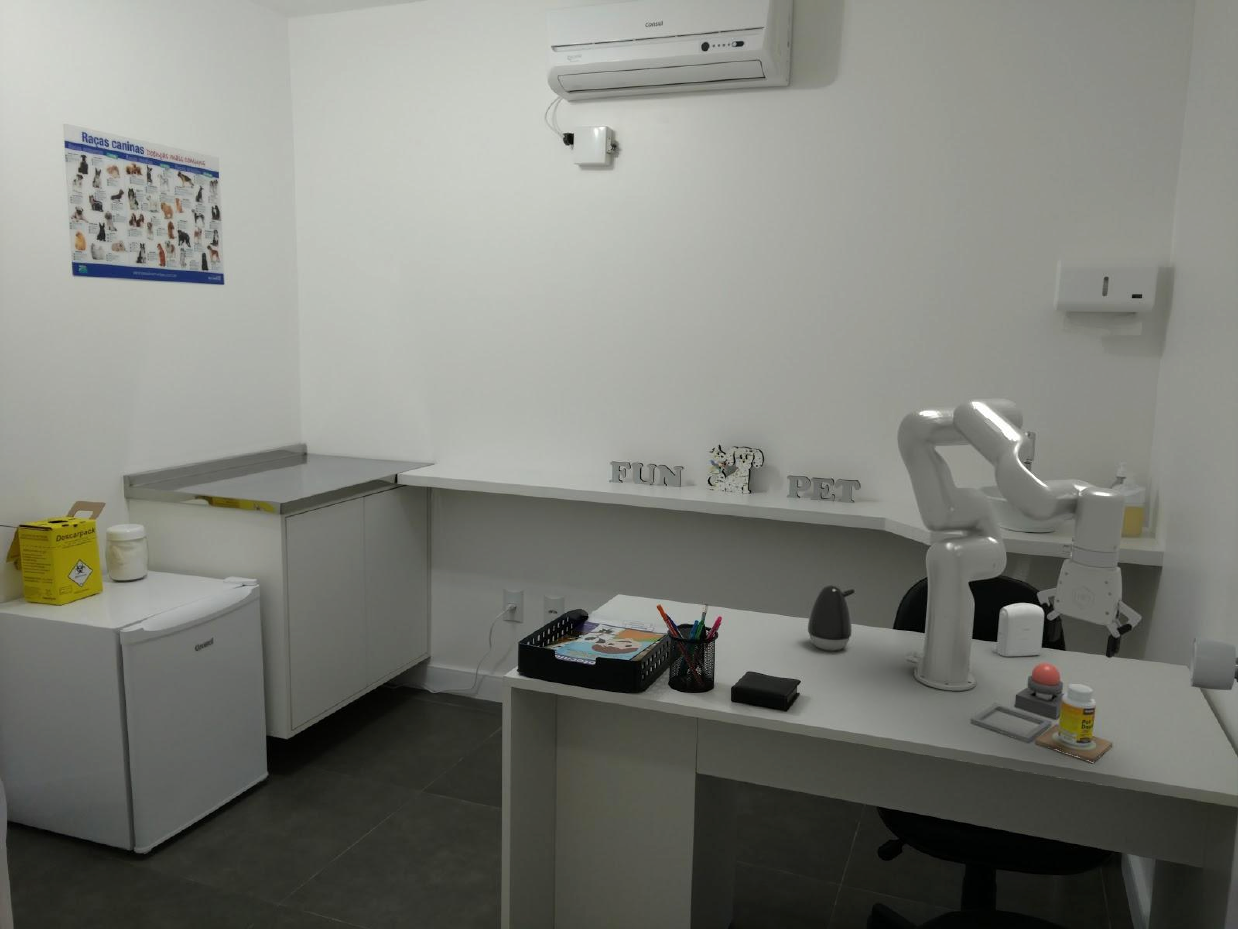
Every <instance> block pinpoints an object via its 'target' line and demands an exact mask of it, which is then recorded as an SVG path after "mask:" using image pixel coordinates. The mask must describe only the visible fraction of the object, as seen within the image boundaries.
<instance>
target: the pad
mask: <svg viewBox="0 0 1238 929" xmlns="http://www.w3.org/2000/svg"><path fill="white" fill-rule="evenodd" d="M1058 730H1059V723H1058V724H1057V723H1056V724H1054V725H1053V726H1050V727H1049V728H1048V730H1047V729H1046V730H1045V731H1044V732H1043V733H1041V735H1040V736H1037V737H1036V739H1035V740H1034V741H1035V742H1034V744H1035V743H1037V744H1039V745H1038V746H1040V745H1041V747H1043V746H1046V747H1049V748H1051V749H1050V750H1052V749H1057V750H1059V751H1061V752H1064V753H1068V754H1071V755H1073V756H1078V757H1080V758H1082V759H1084V760H1089V761H1091V762H1094V761H1095V760H1096V761H1098V760H1099V759H1100V758H1099V756H1101V755H1102V754H1103V753H1104V754H1105V753H1107V752H1108V751H1109V750H1110V749H1111V748H1112V747H1113V744H1114V742H1113V741H1111V740H1107V739H1103V738H1101V737H1098V736H1094V735H1092V741H1091V743H1090V744H1089V745H1087V746H1076V745H1071V744H1068V743H1066V742H1064V741H1062V740H1061V739H1060V738H1059V736H1058ZM1037 744H1036V745H1037ZM1111 746H1112V747H1111ZM1046 747H1045V748H1046ZM1110 747H1111V748H1110ZM1049 748H1048V749H1049ZM1108 749H1109V750H1108ZM1107 750H1108V751H1107ZM1061 752H1060V753H1061ZM1064 753H1063V754H1064ZM1104 754H1103V755H1104ZM1103 755H1102V756H1103ZM1102 756H1101V757H1102ZM1098 758H1099V759H1098ZM1097 759H1098V760H1097ZM1084 760H1083V761H1084ZM1096 761H1095V762H1096ZM1095 762H1094V763H1095Z"/></svg>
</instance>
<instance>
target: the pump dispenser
mask: <svg viewBox="0 0 1238 929" xmlns="http://www.w3.org/2000/svg"><path fill="white" fill-rule="evenodd" d="M853 594H855V590H854V588H851V589H847V590H845V591H843V590H842V589H841V588H840V586H839V587H838V585H834V584H828V585H826V586H823V588H821V590H820V591H819V592H818V594H817V596H816V598H815V600H814V602H813V605H812V607H811V610H810V614H809V618H808V623H807V633H808V634H809V635H808V636H809V638H810V641H811V642H812V644H813V645H815V646H816V648H819V649H820V650H823V651H838V650H839V651H840V650H841V649H843V648H844V647H846V645H847V644H848V642H849V640H850V638H851V637H852V631H853V628H852V618H851V612H850V608H849V604H848V601H847V598H848V597H849V596H851V595H853Z"/></svg>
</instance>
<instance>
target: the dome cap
mask: <svg viewBox="0 0 1238 929" xmlns="http://www.w3.org/2000/svg"><path fill="white" fill-rule="evenodd" d="M1026 685H1027V687H1028V688H1029V689H1031V690H1033V691H1035V692H1036V697H1038V698H1041V699H1044V700H1048V701H1052V695H1058V694H1061V693H1062V694H1063V689H1064V688H1063V687H1064V683H1063V681H1062V680H1061V673H1060V671H1059V669H1058V668H1057V667H1056V666H1055V665H1053V664H1052V663H1051V664H1050V663H1048V662H1043V663H1042V662H1041V663H1039V664H1036V666H1035V667H1034V668H1033V669H1032V671H1031V675H1029V676H1028V677H1027V684H1026Z"/></svg>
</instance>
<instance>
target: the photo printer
mask: <svg viewBox="0 0 1238 929" xmlns="http://www.w3.org/2000/svg"><path fill="white" fill-rule="evenodd" d="M998 617H999V619H998V629H997V630H998V631H997V640H996V642H997V643H996V652H997V654H998V655H999V654H1000V656H1001V655H1002V656H1001V657H1027V656H1040V655H1041V653H1042V646H1043V645H1042V644H1043V635H1044V634H1043V633H1044V625H1045V624H1044V622H1045V612H1044V611H1043V609H1042V608H1041V606H1039V605H1037V604H1033V603H1026V602H1018V603H1012V604H1009V605H1006V606H1003V607H1002V608H1000V611H999V616H998Z"/></svg>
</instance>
